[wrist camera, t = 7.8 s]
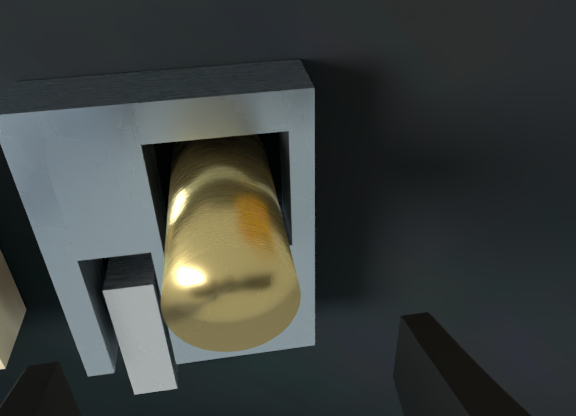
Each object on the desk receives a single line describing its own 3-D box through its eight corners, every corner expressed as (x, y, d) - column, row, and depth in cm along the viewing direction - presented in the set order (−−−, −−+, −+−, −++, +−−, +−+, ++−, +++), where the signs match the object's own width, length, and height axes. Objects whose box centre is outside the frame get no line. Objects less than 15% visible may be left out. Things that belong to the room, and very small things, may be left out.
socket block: (303, 300, 24) (314, 345, 22) (97, 327, 23) (87, 376, 21) (299, 59, 17) (314, 87, 15) (15, 81, 16) (-11, 115, 14)
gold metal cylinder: (266, 197, 20) (299, 344, 14) (177, 203, 20) (169, 358, 14) (265, 114, 18) (302, 241, 12) (166, 119, 18) (151, 254, 12)
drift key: (178, 352, 24) (177, 388, 23) (138, 357, 24) (134, 394, 22) (156, 250, 21) (153, 284, 19) (109, 256, 21) (102, 290, 19)
